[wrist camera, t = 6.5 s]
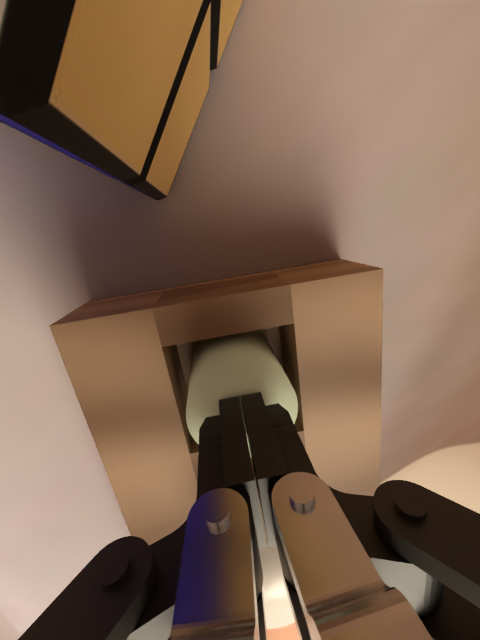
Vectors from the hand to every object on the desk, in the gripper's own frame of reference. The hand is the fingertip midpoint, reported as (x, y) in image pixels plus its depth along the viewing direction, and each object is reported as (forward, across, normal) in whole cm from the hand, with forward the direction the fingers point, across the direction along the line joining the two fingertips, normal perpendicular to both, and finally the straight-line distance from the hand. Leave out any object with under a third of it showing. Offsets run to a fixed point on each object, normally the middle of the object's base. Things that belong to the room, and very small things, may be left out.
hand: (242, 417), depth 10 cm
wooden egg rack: (+5, 0, +6) cm, 8 cm away
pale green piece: (+4, 0, 0) cm, 4 cm away
